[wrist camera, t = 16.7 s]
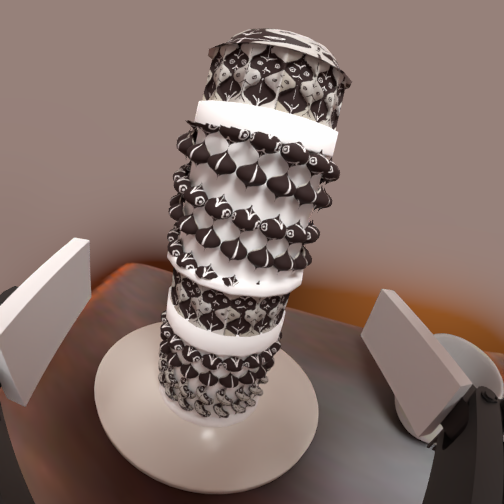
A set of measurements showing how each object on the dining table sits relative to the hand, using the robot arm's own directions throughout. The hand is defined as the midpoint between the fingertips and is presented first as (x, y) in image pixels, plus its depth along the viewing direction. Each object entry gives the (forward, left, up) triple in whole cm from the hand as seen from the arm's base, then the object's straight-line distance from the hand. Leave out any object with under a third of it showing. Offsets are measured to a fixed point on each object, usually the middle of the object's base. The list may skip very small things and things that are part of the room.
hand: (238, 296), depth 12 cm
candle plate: (+6, -2, -14) cm, 15 cm away
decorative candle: (+6, -2, -13) cm, 14 cm away
